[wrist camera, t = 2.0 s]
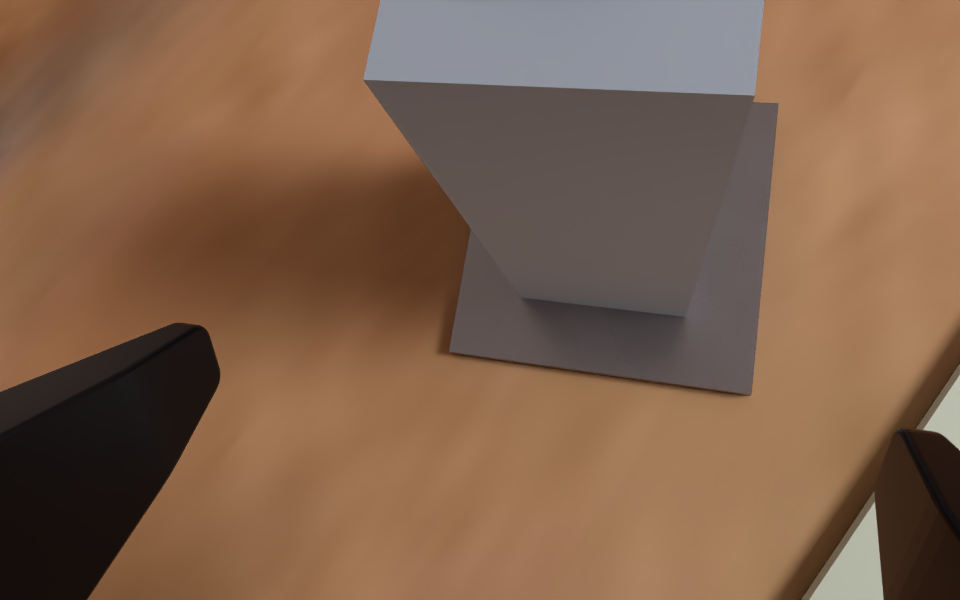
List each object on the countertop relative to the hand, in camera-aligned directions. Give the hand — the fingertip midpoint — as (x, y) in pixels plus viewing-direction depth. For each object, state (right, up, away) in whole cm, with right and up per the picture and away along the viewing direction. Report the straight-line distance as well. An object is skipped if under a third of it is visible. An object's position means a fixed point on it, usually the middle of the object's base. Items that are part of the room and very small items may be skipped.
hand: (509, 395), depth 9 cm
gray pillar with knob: (+4, +3, +13) cm, 14 cm away
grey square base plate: (+4, +3, +13) cm, 14 cm away
